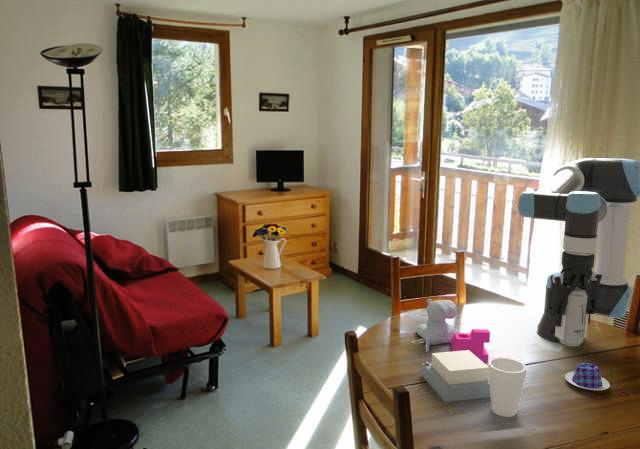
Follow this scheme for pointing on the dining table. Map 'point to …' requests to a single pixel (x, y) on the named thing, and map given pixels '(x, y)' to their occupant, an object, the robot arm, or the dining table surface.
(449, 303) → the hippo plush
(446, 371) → the cream and grey box
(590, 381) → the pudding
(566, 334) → the energy drink can
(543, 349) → the dining table surface
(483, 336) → the bracket
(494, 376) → the foam cup
